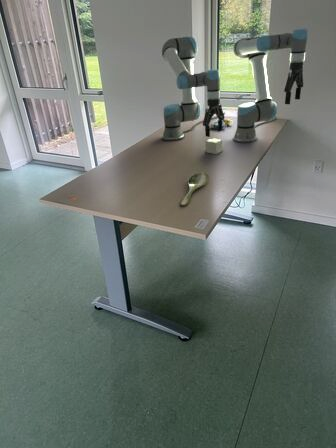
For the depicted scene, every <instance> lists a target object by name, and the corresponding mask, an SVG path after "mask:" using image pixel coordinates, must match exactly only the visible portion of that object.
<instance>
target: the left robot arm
mask: <svg viewBox="0 0 336 448" xmlns="http://www.w3.org/2000/svg"><path fill="white" fill-rule="evenodd" d="M162 45H163V46H162V48H161V55H162V58H163V60H164V61H165V62H167V64H168V65H169V68H171V70H172V72H173V74H174V75H175V77H176V86H177V89H179V90H181V92H182V94H181V95H182V101H181V102H180V104H179V103H171V104H168V105H166V106H165V107H164V108H163V121H164V130H163V135H162V139H163V140H164V141H167V142H176V141H180V140H182V139H184V137H185V136H184V134H185V133H189V132H191V131H192V130H193V129H194V128H195V127H196V126H197V125H199V124H201V123H202V126H203V127H204V131H205V137H208V138H210V137H211V124H210V123H211V121H212V120H214V119H219V120H218V129H217V131H218V132H223V129H222V120H224V119H226V118H225V115H226V112H224V110H223V105H222V104H221V98H220V97H221V72H220V70H219V69H208V70H207V71H201V72H199V73H194V63H193V62H194V60H195V57H196V56H197V55H198V44H197V41H196V39H195V38H194V37H193V36H182V37H173V38H172V37H171V38H169V39H167V40H166V41H165V42H164V44H162ZM201 87H206V97H207V100H206V104H207V106H208V108H205V110H204V111H205V113H204V117H203V119H202V120H201V121H198V122H197V123H195V124H194V125H193V126H192V127H191V128H189V129H187V130H184V131H183V129H182V126H181V123H185V122H186V123H187V122H194V121H197V120H198V119H199V118H200V117H201V112H202V111H201V110H202V108H201V105H200V103H199V102H198V100H197V98H196V93H195V88H201Z"/></svg>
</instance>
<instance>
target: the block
mask: <svg viewBox="0 0 336 448" xmlns="http://www.w3.org/2000/svg"><path fill="white" fill-rule="evenodd" d="M221 152H223V140H222V139H218V138H214V137H213V138H209V139H207V140H205V153H208V154H214V155H218V154H219V153H221Z"/></svg>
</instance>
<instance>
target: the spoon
mask: <svg viewBox="0 0 336 448" xmlns="http://www.w3.org/2000/svg"><path fill="white" fill-rule="evenodd" d="M209 180H210V176H209V174H208V173H206V172H203V171H200V172H199V171H198V172H195V173H194V174H192V175H191V176H189V178H188V180H187V185H188V187H189V188H188V189H189V190H188V192H187V193H186V195H185V196H184V197H183V198H182V200H181V202H180V206H183V207H185V206H187V205H188V203H189V201H190V199H191V197H192V195H193V193H194V191H196V190H197V189H199V188H201V187H203V186H205V185H206V184H207V183H208V182H209Z"/></svg>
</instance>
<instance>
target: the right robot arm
mask: <svg viewBox="0 0 336 448" xmlns="http://www.w3.org/2000/svg"><path fill="white" fill-rule="evenodd" d="M307 41H308V29H307V28H297V29H293V30H292V32H291V33H290V32H285V33H280V34H279V33H278V34H271V35H270V34H269V35H262V36H261V35H260V36H255V37H254V36H253V37H244V38H240V39H238V40H237V41H235V43H234V45H233V54H234V55H235V56H236V57H237V58H239V59H248V62H249V63H250V64H251V70H252V76H253V83H254V92H255V99H256V100H255V101H254V102H245V103H242V104H239V105H238V107H237V112H236V115H237V117H236V119H237V120H236V123H237V124H236V130H235V134H234V136H233V140H234V141H236V142H240V143H250V142H254V141H256V140H257V137H258V135H257V133H256V129H255V128H256V127H258V126H260V125H263V124H266V123H270V122H273V121H275V120H276V119H277V112H278V105H277V102H275V101H273V98H272V97H271V96H270V88H269V83H268V82H269V81H268V74H267V67H266V59H267V58H268V54H269V52H270V51H271V52H272V51H278V50H287V49H289V50H290V55H289V61H290V62H289V66H288V70H289V71H290V72H288V73H287V79H286V82H285V86H284V88H283V92H284V93H285V97H284V99H285V100H284V105H290V104H291V98H292V89H293V86H294V84H296V87H295V93H294V100H300V99H301V94H302V93H301V92H302V88H304V75H303V72H304V70H303V69H304V65H305V59H306V50H307V49H306V48H307Z"/></svg>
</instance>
